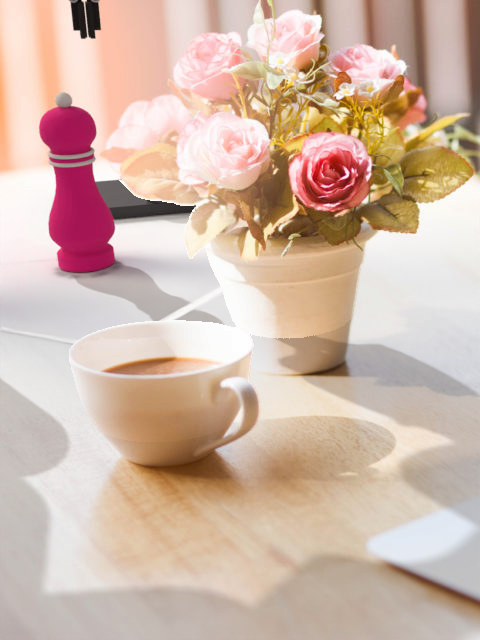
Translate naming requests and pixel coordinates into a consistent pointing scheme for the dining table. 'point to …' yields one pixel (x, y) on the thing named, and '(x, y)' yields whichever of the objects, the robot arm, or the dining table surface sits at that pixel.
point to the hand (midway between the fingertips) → (87, 36)
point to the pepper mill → (76, 190)
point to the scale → (134, 202)
